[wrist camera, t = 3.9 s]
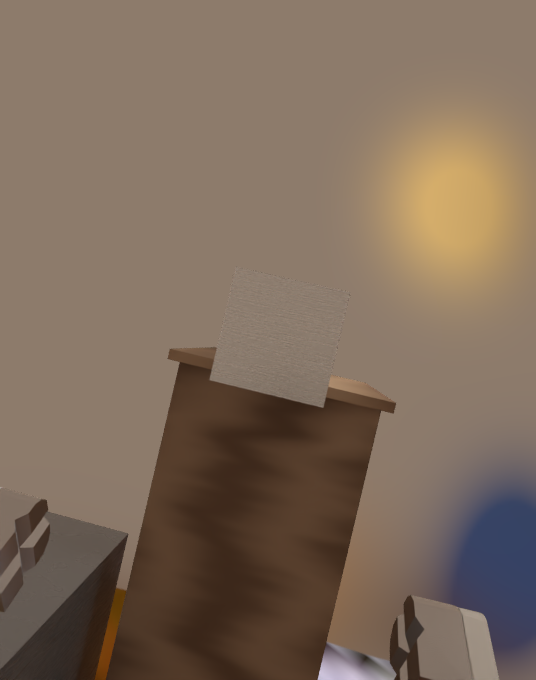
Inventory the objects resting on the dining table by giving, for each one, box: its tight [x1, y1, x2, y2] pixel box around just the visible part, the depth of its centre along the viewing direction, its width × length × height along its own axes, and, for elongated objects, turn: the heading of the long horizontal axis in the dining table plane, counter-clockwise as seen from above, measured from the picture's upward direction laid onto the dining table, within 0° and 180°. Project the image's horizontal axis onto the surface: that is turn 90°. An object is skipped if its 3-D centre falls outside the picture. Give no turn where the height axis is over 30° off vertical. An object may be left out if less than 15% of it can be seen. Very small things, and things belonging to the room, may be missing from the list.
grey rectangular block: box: [210, 267, 350, 408], centre depth 25 cm, size 4×20×4 cm, turn 176°
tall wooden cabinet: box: [106, 347, 396, 680], centre depth 30 cm, size 11×12×26 cm
